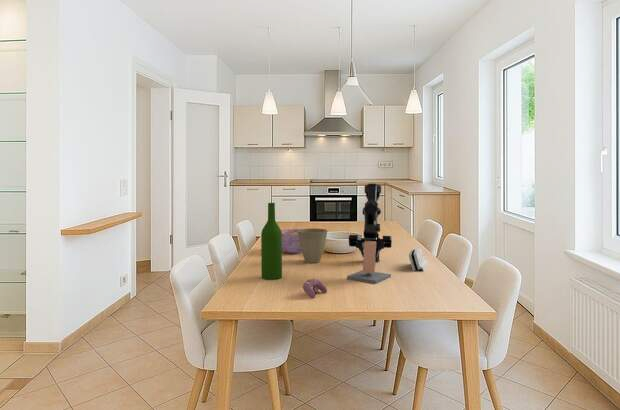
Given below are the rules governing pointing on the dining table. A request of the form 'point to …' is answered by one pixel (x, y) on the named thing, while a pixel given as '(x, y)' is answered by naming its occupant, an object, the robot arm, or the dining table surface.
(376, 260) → the robot arm
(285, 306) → the dining table surface
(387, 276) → the charcoal plate
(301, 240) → the plant pot
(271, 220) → the wine bottle
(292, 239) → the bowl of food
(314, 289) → the video game controller
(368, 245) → the terracotta sleeve
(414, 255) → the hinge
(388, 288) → the dining table surface
